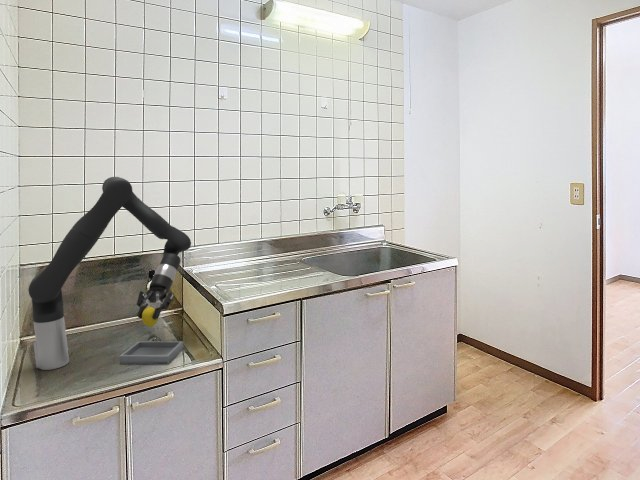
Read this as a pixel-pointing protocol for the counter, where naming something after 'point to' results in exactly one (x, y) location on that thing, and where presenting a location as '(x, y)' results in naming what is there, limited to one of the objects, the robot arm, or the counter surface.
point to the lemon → (148, 317)
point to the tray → (152, 352)
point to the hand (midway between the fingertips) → (146, 318)
